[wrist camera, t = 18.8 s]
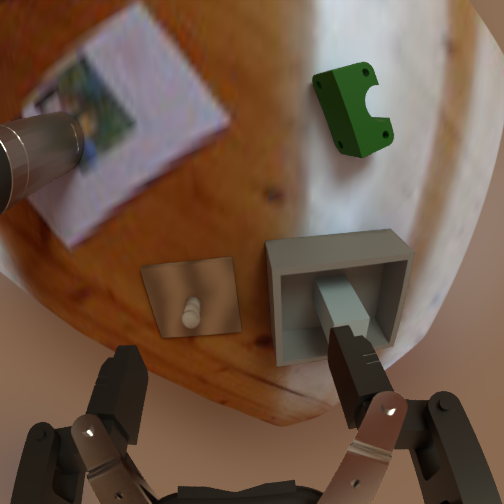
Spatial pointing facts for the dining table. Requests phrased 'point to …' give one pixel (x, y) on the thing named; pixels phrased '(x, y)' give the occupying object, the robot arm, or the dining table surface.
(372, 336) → the bin
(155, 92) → the dining table surface
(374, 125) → the clamp
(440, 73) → the dining table surface
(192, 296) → the stud block
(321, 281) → the pale grey rectangular block
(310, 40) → the dining table surface
